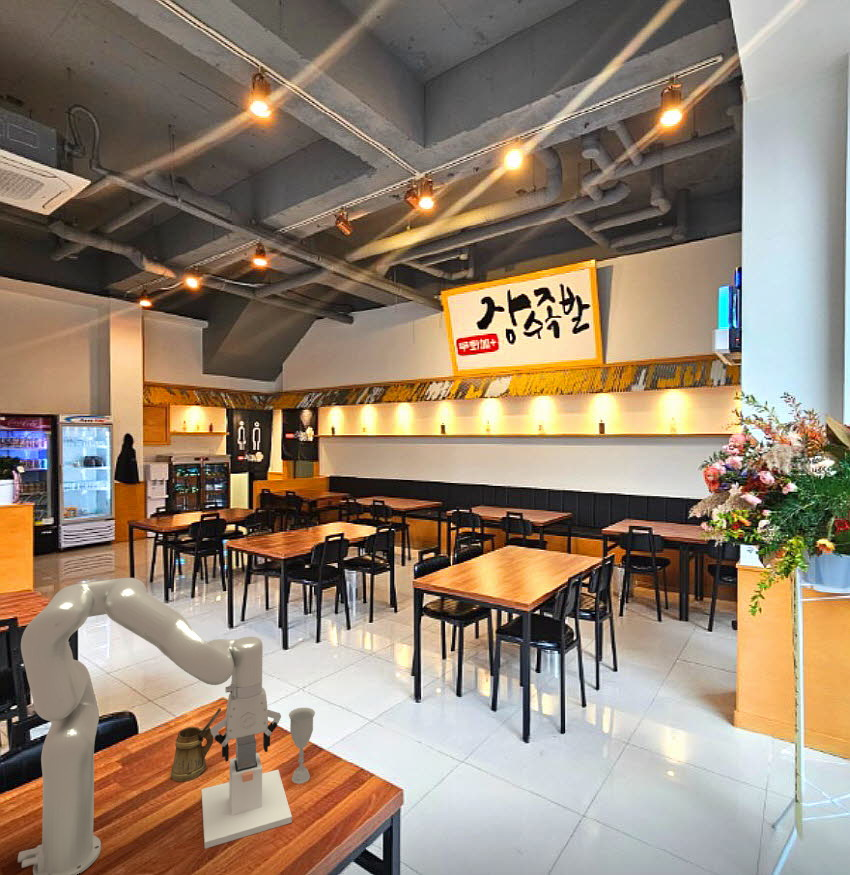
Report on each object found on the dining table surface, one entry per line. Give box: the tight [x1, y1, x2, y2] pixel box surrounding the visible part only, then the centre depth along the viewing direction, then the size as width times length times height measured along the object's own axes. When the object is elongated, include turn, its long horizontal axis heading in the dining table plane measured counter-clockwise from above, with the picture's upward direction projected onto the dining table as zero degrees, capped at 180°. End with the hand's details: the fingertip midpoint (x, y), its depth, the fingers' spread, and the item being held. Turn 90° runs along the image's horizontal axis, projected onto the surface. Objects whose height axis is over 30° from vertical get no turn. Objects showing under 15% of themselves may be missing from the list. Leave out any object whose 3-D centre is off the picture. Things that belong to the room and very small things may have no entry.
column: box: [235, 734, 257, 772], centre depth 133 cm, size 4×4×16 cm
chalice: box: [288, 707, 316, 785], centre depth 145 cm, size 7×7×18 cm
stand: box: [201, 752, 293, 849], centre depth 133 cm, size 20×20×12 cm
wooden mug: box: [170, 707, 222, 783], centre depth 147 cm, size 9×14×18 cm, turn 92°
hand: (246, 753), depth 133 cm, fingers open, 9 cm apart
